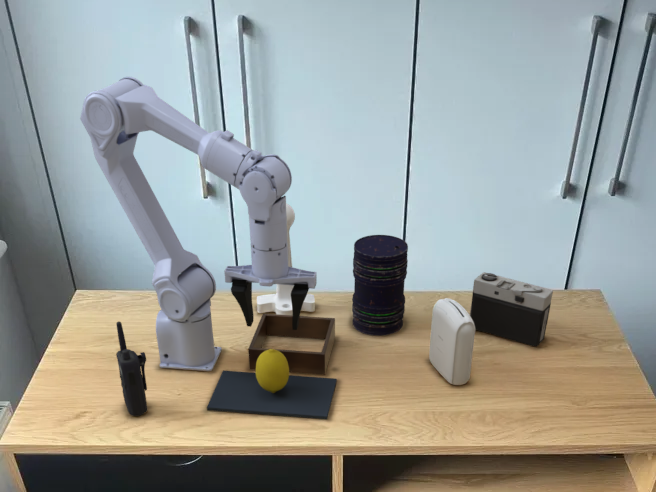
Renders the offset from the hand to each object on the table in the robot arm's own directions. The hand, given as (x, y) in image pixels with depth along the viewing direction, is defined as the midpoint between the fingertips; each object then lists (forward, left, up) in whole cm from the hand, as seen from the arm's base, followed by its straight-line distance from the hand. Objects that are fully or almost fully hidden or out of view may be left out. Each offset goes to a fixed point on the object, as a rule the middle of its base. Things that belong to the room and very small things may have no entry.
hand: (272, 325), depth 142 cm
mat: (+1, -6, -10) cm, 11 cm away
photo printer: (+30, +6, -10) cm, 32 cm away
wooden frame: (+2, +9, -10) cm, 13 cm away
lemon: (+1, -6, -9) cm, 11 cm away
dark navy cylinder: (+16, +22, -10) cm, 29 cm away
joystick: (-2, +24, -10) cm, 26 cm away
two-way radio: (-20, -13, -10) cm, 26 cm away
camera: (+41, +23, -10) cm, 48 cm away
